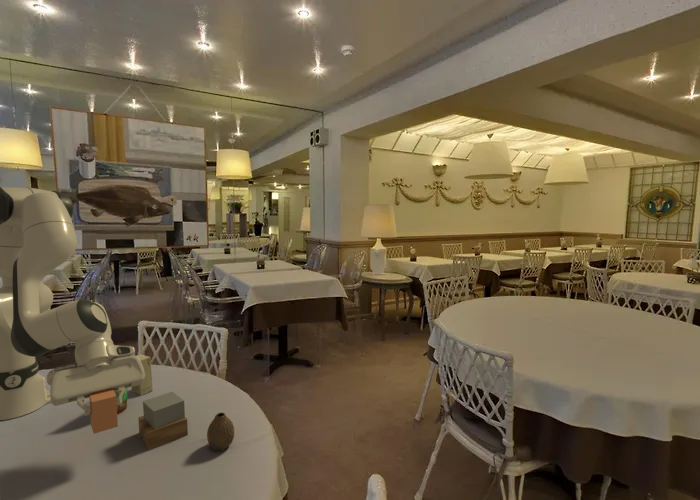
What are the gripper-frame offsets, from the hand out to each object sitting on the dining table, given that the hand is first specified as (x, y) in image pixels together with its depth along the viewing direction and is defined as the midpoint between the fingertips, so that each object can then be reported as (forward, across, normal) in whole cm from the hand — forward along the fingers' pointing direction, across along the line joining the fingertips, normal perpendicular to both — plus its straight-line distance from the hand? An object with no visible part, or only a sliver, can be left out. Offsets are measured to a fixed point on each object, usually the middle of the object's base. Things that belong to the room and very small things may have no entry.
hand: (103, 409), depth 94 cm
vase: (+18, +24, 0) cm, 31 cm away
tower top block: (+4, +14, +8) cm, 17 cm away
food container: (-8, +6, +28) cm, 30 cm away
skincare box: (-15, +16, +35) cm, 41 cm away
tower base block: (+7, +14, +12) cm, 20 cm away
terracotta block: (+3, 0, +4) cm, 4 cm away
